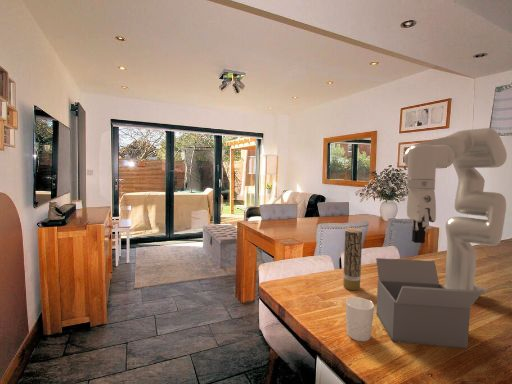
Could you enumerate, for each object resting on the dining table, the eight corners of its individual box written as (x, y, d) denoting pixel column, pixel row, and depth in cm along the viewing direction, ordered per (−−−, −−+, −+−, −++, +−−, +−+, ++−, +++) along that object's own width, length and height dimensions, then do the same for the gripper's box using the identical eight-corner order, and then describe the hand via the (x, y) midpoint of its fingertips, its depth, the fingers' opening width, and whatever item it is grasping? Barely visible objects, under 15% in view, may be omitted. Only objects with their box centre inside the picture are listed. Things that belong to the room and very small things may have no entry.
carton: (438, 318, 94) (440, 284, 93) (467, 348, 79) (470, 306, 78) (376, 314, 97) (377, 280, 96) (392, 341, 81) (394, 301, 80)
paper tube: (361, 291, 115) (363, 231, 114) (344, 289, 117) (346, 230, 115) (358, 284, 122) (360, 228, 120) (342, 283, 123) (344, 227, 121)
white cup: (340, 328, 88) (341, 297, 87) (364, 327, 89) (366, 296, 88) (351, 343, 80) (352, 309, 79) (377, 342, 81) (379, 309, 80)
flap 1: (379, 280, 96) (378, 280, 97) (439, 283, 94) (438, 284, 94) (376, 258, 100) (376, 258, 100) (434, 261, 97) (433, 261, 97)
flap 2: (468, 306, 78) (469, 308, 77) (395, 301, 80) (396, 303, 80) (480, 290, 73) (481, 292, 73) (402, 285, 76) (403, 287, 75)
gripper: (446, 186, 80) (443, 249, 81) (422, 183, 94) (420, 236, 96) (418, 186, 81) (415, 248, 82) (399, 183, 95) (397, 236, 97)
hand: (418, 242), depth 89 cm, fingers closed
